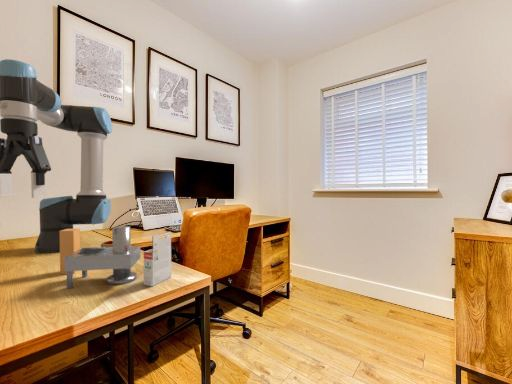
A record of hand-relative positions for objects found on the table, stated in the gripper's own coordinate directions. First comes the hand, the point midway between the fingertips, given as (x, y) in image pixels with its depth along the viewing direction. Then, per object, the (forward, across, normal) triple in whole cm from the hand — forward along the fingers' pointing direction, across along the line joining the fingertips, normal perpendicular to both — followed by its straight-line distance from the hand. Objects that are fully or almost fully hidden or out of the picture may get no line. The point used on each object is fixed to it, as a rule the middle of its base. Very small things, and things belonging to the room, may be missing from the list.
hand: (21, 197), depth 70 cm
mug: (+26, -2, +30) cm, 39 cm away
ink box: (+26, +33, +15) cm, 45 cm away
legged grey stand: (+25, +18, +11) cm, 33 cm away
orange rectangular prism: (+25, +1, +13) cm, 28 cm away
